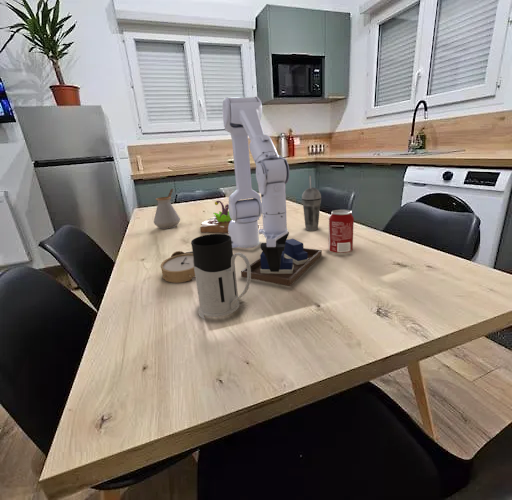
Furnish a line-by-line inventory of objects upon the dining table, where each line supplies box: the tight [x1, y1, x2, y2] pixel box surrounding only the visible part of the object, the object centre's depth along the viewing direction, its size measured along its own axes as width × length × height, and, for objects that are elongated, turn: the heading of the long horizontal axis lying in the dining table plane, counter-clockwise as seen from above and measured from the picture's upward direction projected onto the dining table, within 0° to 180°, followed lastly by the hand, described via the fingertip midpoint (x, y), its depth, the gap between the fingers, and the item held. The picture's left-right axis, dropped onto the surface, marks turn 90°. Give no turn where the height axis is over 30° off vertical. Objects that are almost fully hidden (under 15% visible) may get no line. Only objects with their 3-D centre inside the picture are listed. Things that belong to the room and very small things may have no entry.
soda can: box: [328, 209, 355, 254], centre depth 85 cm, size 7×7×12 cm
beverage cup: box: [301, 175, 322, 232], centre depth 109 cm, size 7×7×20 cm
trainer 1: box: [259, 250, 294, 274], centre depth 74 cm, size 8×4×5 cm, turn 79°
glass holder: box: [190, 233, 252, 320], centre depth 56 cm, size 9×14×15 cm, turn 46°
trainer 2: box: [284, 238, 309, 265], centre depth 81 cm, size 8×4×5 cm, turn 24°
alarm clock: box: [160, 250, 196, 284], centre depth 81 cm, size 11×5×15 cm
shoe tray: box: [240, 247, 323, 287], centre depth 78 cm, size 13×21×2 cm, turn 149°
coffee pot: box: [153, 188, 181, 230], centre depth 135 cm, size 21×12×15 cm, turn 179°
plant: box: [200, 200, 232, 234], centre depth 123 cm, size 20×20×11 cm
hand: (276, 265), depth 75 cm, fingers open, 7 cm apart
